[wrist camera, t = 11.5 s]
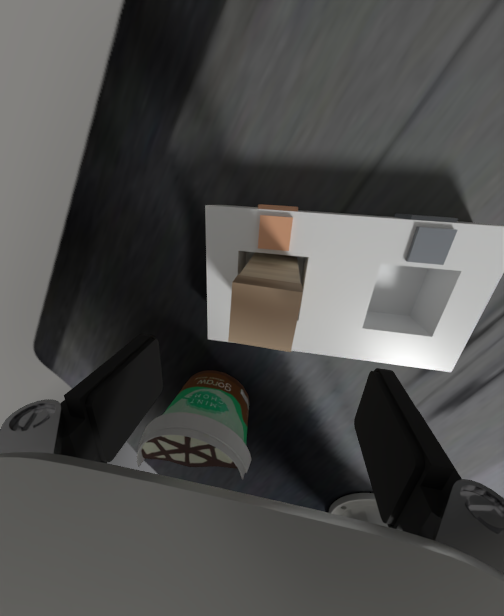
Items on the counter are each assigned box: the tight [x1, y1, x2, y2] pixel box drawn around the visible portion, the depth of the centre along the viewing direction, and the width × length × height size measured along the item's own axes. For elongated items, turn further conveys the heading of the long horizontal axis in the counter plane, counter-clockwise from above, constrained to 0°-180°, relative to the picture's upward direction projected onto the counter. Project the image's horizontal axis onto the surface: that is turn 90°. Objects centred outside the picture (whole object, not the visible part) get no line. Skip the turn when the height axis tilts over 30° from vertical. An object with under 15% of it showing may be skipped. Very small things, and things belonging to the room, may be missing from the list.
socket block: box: [205, 204, 504, 372], centre depth 21 cm, size 12×22×5 cm, turn 87°
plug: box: [228, 252, 303, 352], centre depth 19 cm, size 4×4×10 cm
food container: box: [137, 370, 251, 480], centre depth 27 cm, size 12×6×10 cm, turn 94°
